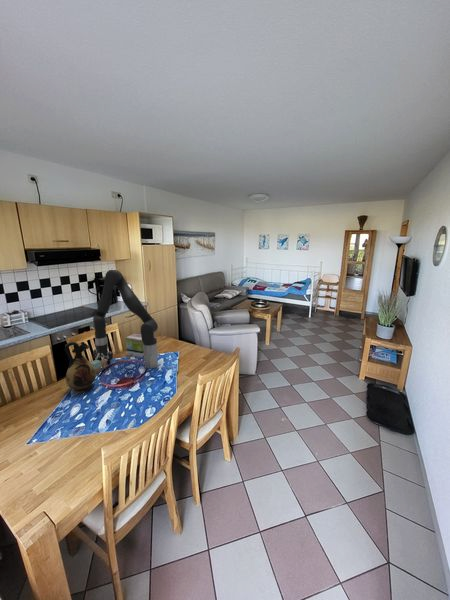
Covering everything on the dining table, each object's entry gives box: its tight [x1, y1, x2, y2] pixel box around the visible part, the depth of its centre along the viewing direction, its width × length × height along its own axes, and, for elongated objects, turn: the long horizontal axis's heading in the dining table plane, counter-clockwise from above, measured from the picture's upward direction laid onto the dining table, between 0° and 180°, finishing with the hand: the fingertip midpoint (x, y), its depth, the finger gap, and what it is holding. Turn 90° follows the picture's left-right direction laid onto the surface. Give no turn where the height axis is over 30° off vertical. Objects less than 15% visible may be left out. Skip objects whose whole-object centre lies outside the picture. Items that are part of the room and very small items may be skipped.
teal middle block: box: [89, 359, 102, 369], centre depth 163 cm, size 5×5×4 cm
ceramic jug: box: [64, 341, 97, 394], centre depth 143 cm, size 17×15×30 cm
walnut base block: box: [95, 367, 103, 375], centre depth 164 cm, size 6×6×4 cm
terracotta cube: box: [100, 359, 109, 369], centre depth 171 cm, size 4×4×4 cm
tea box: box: [125, 333, 144, 358], centre depth 192 cm, size 15×10×15 cm
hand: (103, 364), depth 172 cm, fingers open, 8 cm apart
